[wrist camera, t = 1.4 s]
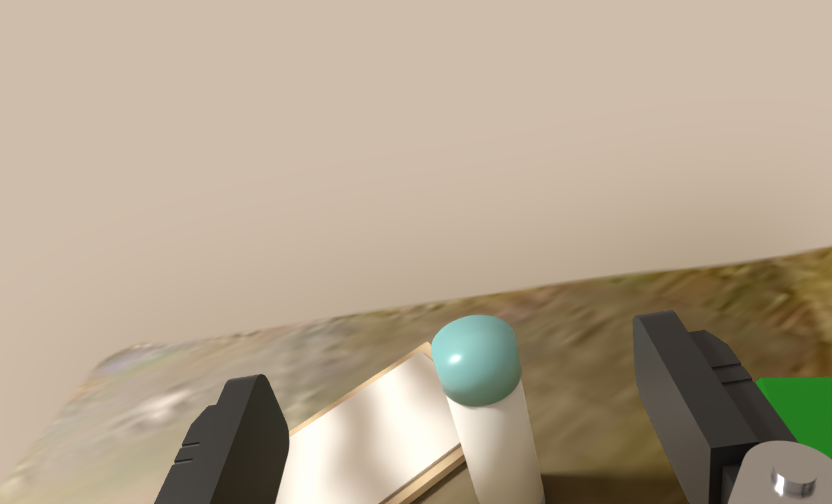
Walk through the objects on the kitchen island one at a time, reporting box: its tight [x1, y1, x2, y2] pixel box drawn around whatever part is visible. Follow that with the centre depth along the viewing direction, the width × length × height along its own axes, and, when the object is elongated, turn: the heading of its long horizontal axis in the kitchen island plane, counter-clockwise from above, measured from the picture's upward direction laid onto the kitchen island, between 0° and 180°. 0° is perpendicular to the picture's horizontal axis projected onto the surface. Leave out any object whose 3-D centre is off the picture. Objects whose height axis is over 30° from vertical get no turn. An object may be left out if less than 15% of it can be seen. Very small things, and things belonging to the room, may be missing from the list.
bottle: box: [431, 315, 546, 504], centre depth 29 cm, size 4×4×12 cm
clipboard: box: [275, 342, 466, 504], centre depth 37 cm, size 18×10×1 cm, turn 124°
